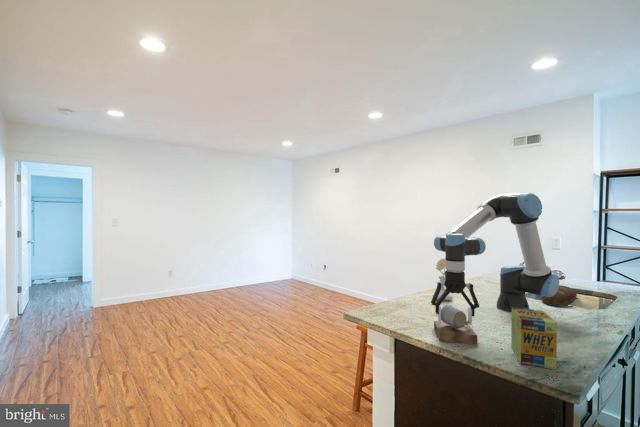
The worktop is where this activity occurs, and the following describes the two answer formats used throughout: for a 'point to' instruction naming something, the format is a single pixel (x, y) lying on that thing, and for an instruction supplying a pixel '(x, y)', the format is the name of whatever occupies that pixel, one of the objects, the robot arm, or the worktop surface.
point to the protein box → (534, 337)
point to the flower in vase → (442, 279)
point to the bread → (561, 296)
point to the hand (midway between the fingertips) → (454, 322)
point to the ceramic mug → (453, 316)
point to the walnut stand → (455, 333)
